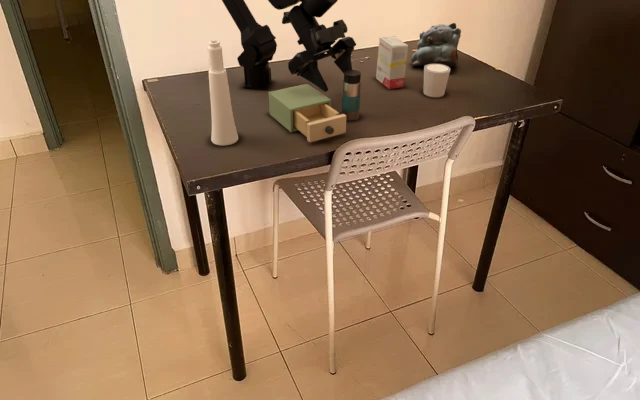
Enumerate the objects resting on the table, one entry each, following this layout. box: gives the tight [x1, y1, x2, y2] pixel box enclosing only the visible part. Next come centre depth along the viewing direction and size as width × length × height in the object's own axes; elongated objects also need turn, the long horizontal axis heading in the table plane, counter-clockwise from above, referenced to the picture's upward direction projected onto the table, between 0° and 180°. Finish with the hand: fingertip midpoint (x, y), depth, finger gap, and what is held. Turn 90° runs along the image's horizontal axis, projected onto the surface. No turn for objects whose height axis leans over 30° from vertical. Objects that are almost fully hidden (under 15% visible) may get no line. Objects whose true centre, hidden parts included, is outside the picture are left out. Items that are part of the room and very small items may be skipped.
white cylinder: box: [422, 64, 451, 98], centre depth 134 cm, size 7×7×7 cm
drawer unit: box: [268, 83, 332, 133], centre depth 121 cm, size 11×11×6 cm
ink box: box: [375, 36, 409, 90], centre depth 138 cm, size 9×5×12 cm, turn 19°
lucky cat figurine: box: [410, 22, 462, 68], centre depth 150 cm, size 15×12×14 cm
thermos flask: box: [341, 69, 362, 122], centre depth 120 cm, size 4×4×11 cm
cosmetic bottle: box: [207, 39, 239, 147], centre depth 107 cm, size 6×6×22 cm
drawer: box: [293, 103, 347, 143], centre depth 115 cm, size 12×10×4 cm
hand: (340, 85), depth 122 cm, fingers open, 9 cm apart
